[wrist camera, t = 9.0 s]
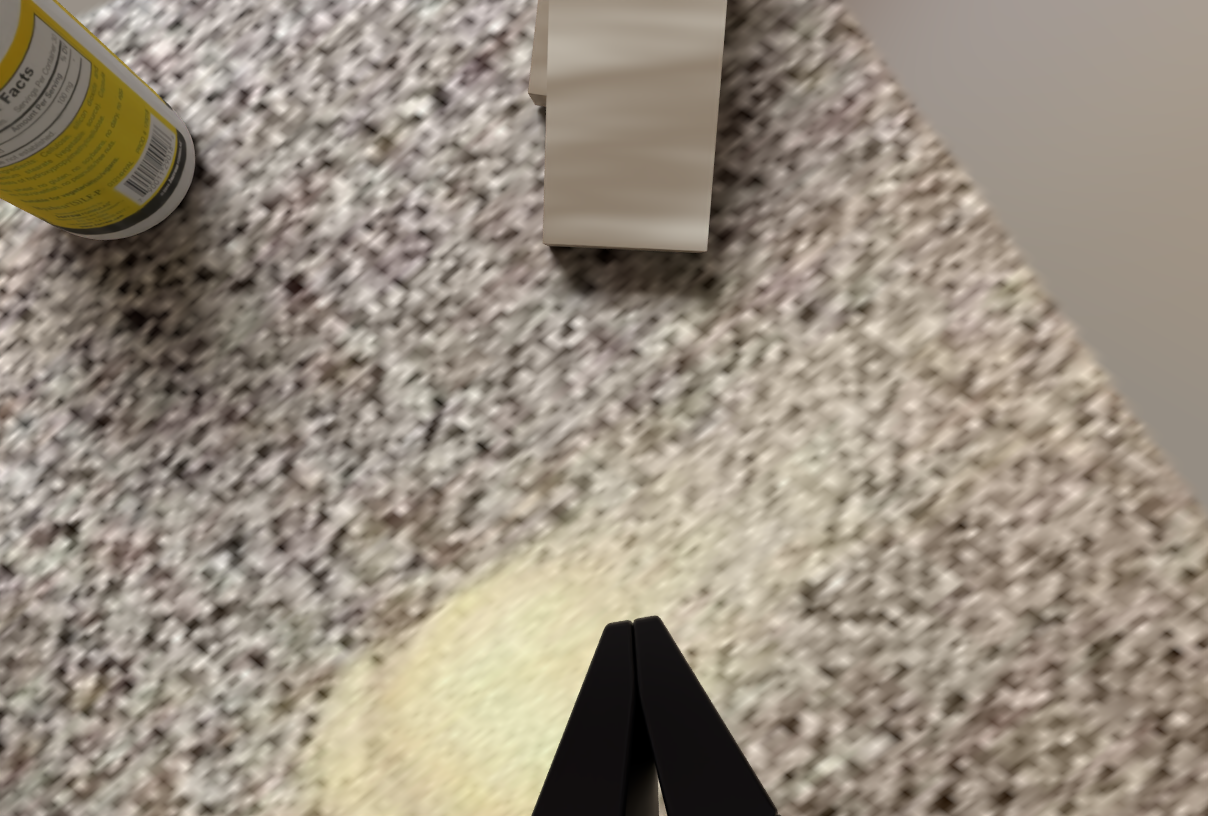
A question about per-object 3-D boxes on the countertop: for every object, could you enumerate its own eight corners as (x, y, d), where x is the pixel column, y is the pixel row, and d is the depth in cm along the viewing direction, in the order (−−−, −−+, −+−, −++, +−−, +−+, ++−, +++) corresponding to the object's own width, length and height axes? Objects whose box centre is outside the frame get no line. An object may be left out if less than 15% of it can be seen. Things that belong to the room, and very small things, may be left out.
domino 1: (706, 251, 19) (737, -132, 16) (542, 243, 19) (552, -140, 16) (700, 253, 20) (727, -97, 18) (548, 245, 20) (558, -104, 18)
